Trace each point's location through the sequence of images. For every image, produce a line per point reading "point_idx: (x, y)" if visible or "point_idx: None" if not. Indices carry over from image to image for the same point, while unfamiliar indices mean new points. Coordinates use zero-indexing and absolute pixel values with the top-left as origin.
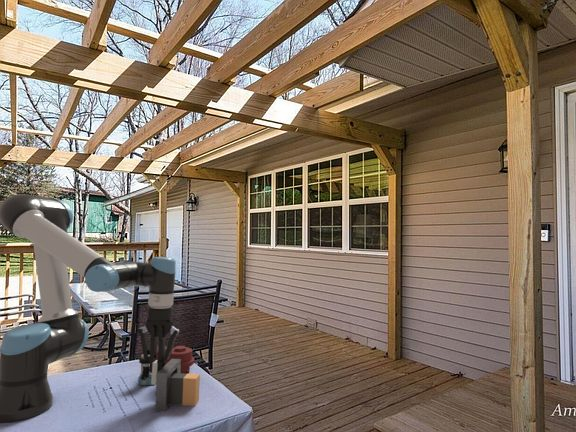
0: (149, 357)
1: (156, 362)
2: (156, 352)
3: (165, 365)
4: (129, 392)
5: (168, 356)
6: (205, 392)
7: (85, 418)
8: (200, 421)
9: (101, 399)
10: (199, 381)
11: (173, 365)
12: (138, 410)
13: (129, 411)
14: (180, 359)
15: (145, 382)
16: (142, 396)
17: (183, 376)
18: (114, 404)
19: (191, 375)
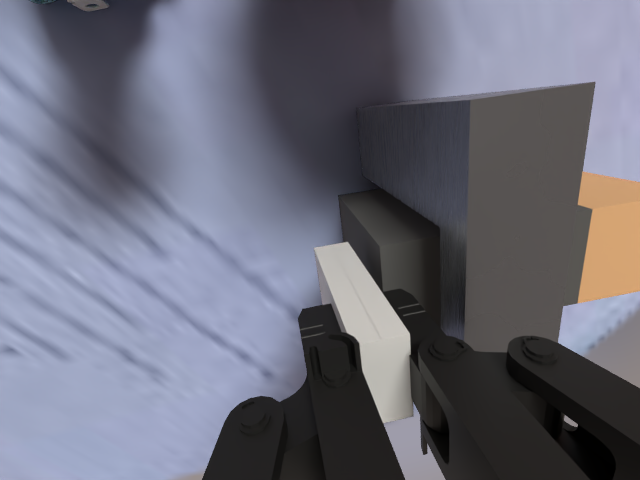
0: (315, 474)
1: (394, 402)
2: (391, 445)
3: (471, 342)
4: (94, 156)
5: (588, 439)
6: (558, 49)
7: (128, 435)
8: (570, 338)
9: (16, 281)
10: (631, 181)
11: (549, 319)
12: (297, 329)
13: (264, 346)
14: (590, 102)
15: (97, 1)
16: (217, 192)
17: (572, 272)
18: (141, 311)
19: (629, 237)
